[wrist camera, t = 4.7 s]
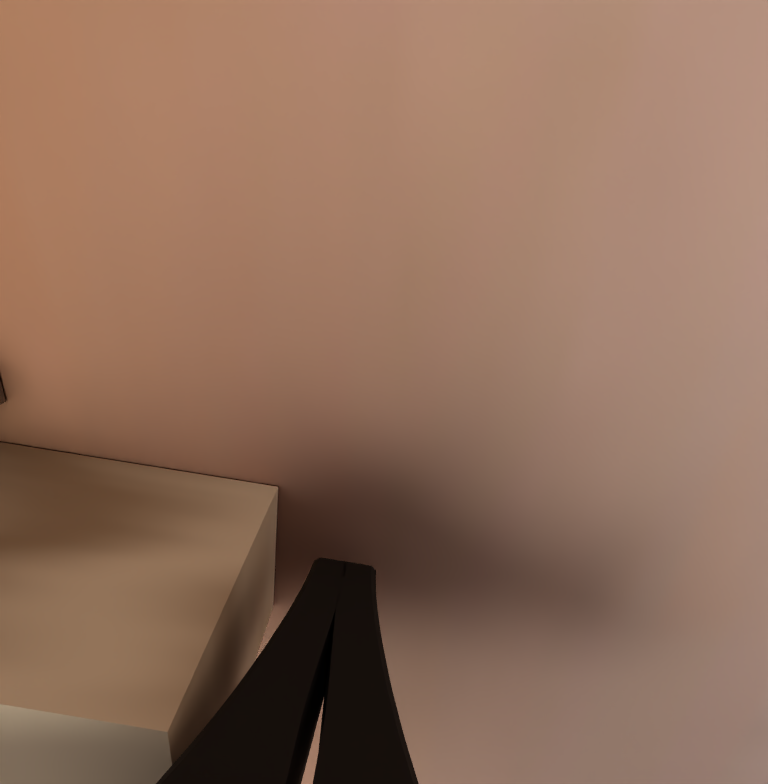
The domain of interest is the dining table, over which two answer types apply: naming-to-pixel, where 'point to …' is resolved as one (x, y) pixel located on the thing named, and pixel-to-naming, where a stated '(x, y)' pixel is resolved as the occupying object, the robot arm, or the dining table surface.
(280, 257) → the dining table surface
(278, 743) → the robot arm
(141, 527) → the beige rectangular block
